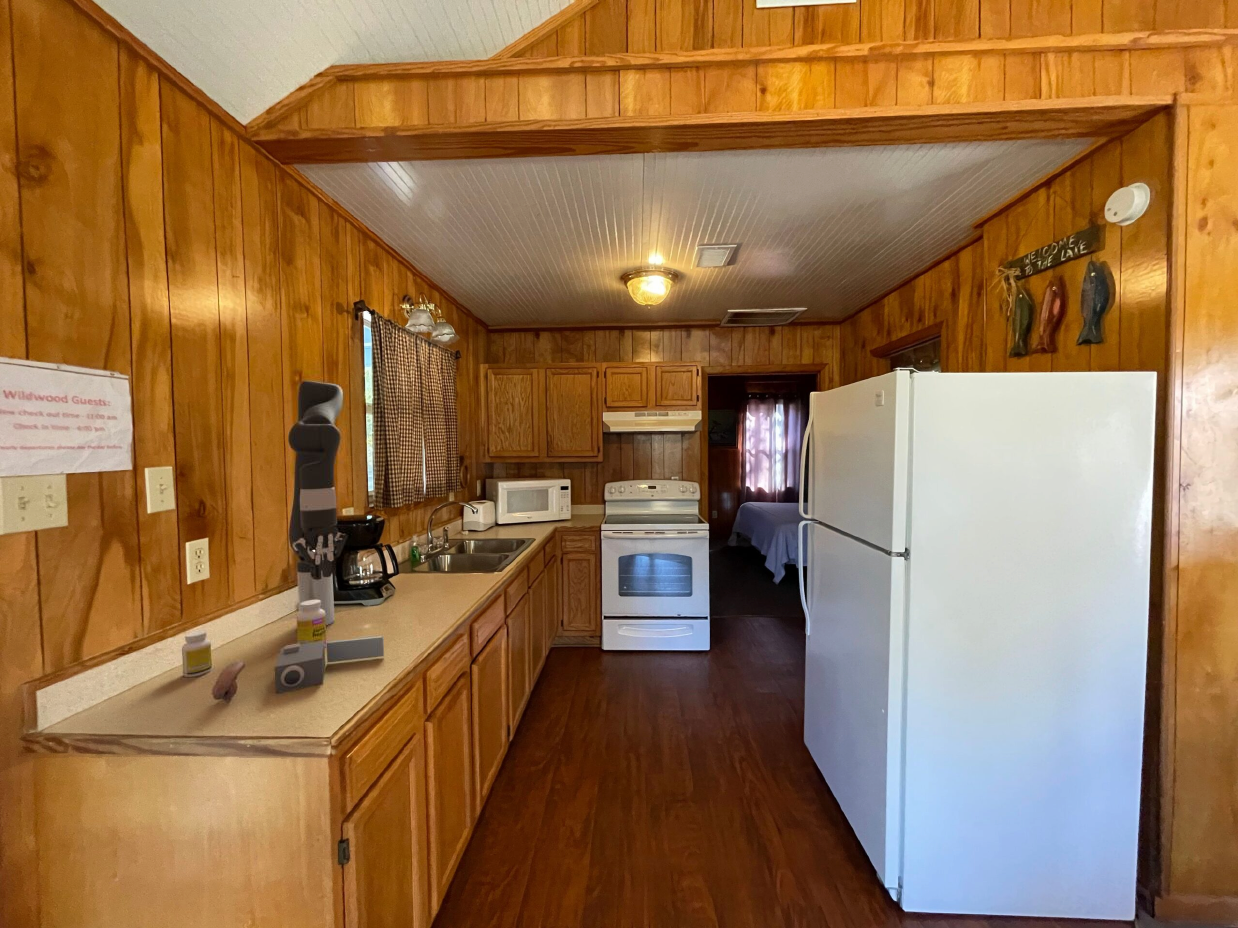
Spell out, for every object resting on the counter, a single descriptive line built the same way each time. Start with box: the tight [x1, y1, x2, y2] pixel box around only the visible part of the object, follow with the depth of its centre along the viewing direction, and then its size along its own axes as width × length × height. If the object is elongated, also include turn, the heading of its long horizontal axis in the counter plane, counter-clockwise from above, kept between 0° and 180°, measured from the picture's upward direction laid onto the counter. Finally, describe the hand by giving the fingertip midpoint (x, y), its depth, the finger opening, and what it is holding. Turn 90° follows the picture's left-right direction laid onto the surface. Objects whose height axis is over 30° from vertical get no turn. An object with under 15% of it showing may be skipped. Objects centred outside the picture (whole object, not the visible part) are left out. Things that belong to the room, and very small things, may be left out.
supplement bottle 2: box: [296, 600, 327, 647], centre depth 135 cm, size 7×7×13 cm
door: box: [326, 635, 385, 664], centre depth 127 cm, size 13×1×5 cm, turn 103°
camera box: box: [274, 641, 326, 694], centre depth 117 cm, size 14×9×7 cm, turn 28°
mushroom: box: [211, 660, 246, 704], centre depth 108 cm, size 8×6×8 cm
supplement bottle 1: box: [181, 630, 213, 678], centre depth 122 cm, size 5×5×10 cm
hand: (322, 577), depth 121 cm, fingers closed
